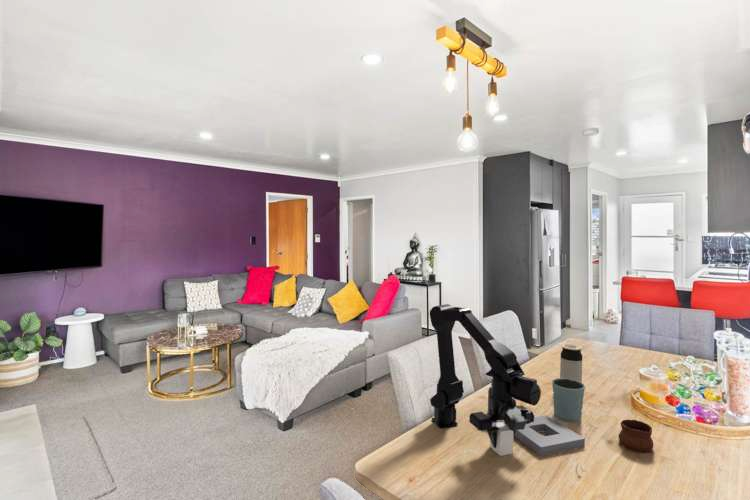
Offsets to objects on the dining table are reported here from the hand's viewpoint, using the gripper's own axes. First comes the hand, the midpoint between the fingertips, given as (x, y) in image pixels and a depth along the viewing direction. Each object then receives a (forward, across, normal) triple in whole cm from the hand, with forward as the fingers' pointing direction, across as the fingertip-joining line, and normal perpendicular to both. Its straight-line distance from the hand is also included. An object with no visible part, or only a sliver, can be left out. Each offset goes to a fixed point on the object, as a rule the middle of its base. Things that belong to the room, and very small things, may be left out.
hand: (501, 445), depth 116 cm
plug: (+1, 0, 0) cm, 1 cm away
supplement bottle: (+1, +13, +20) cm, 24 cm away
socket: (+1, +17, +2) cm, 17 cm away
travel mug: (+1, +55, +30) cm, 63 cm away
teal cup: (+2, +35, +11) cm, 37 cm away
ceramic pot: (+2, +40, -10) cm, 42 cm away
